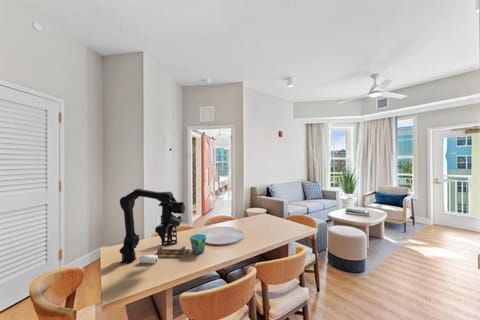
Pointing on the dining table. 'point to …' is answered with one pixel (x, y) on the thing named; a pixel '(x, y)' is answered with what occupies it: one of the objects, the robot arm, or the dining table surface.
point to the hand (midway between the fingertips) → (166, 239)
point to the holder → (170, 237)
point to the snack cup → (198, 243)
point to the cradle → (172, 252)
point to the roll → (148, 259)
